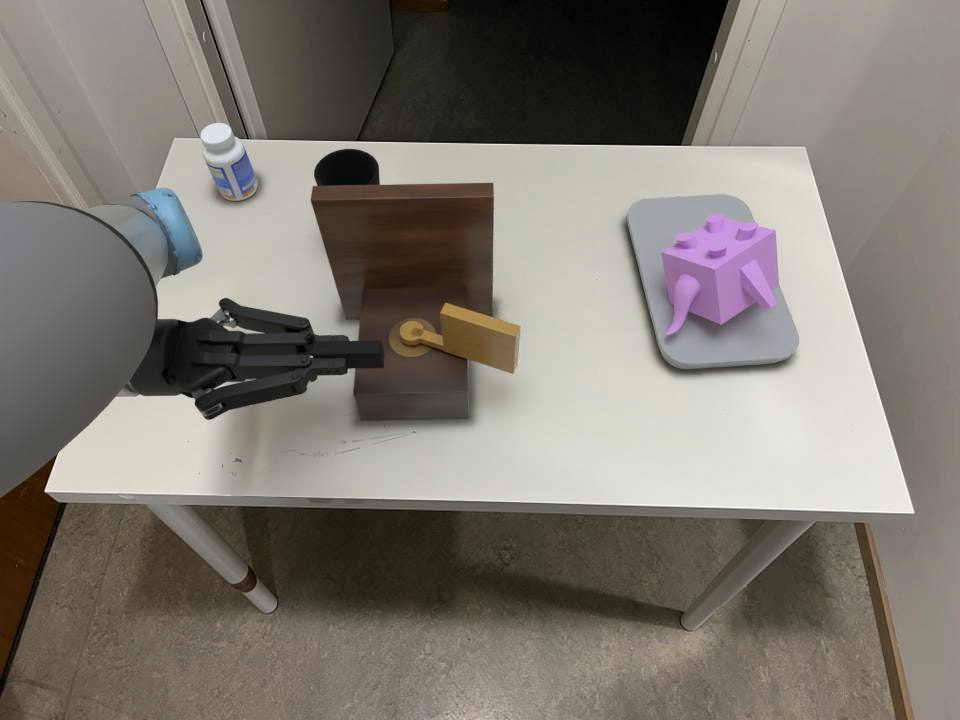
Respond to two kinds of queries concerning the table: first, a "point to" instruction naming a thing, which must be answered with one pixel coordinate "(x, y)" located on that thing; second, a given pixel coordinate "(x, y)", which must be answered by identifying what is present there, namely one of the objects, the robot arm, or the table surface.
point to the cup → (347, 169)
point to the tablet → (698, 339)
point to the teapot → (720, 270)
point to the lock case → (409, 284)
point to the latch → (470, 337)
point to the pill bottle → (228, 162)
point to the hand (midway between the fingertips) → (382, 354)
